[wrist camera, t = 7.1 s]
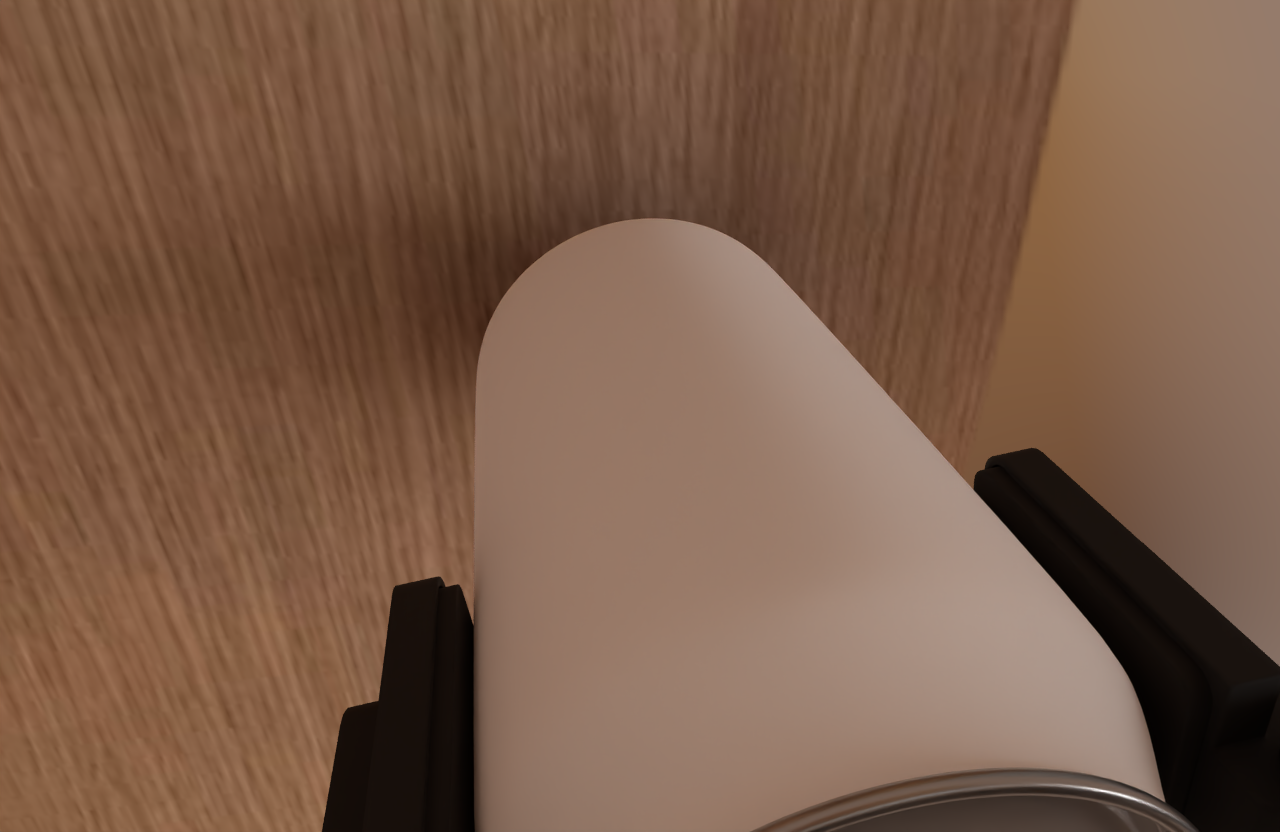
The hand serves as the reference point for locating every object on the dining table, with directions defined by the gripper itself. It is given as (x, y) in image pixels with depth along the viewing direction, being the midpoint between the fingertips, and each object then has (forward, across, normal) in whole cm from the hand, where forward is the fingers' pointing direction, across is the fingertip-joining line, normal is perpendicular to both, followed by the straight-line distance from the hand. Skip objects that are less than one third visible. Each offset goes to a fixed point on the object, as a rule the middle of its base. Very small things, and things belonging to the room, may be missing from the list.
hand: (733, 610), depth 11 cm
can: (+7, 0, 0) cm, 7 cm away
